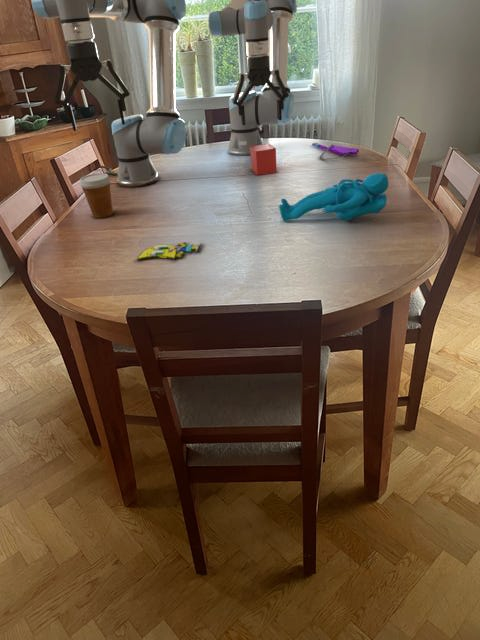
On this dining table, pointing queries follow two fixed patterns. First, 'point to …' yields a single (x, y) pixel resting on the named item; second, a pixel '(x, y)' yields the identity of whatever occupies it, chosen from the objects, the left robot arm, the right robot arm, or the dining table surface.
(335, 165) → the dining table surface
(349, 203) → the toy
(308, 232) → the dining table surface
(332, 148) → the musical instrument
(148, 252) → the toy
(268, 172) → the brick
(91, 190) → the disposable coffee cup
